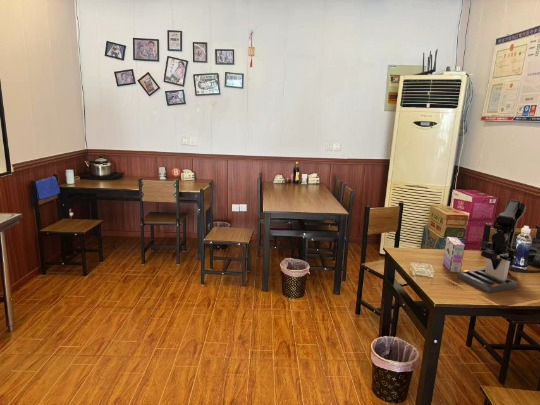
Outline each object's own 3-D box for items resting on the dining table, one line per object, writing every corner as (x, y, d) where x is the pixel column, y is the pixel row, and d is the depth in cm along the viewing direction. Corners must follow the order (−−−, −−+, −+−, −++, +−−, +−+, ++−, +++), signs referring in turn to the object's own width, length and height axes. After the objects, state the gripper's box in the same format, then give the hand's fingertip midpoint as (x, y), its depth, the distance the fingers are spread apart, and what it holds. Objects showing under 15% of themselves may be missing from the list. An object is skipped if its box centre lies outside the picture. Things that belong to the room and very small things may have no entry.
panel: (488, 272, 188) (491, 254, 186) (506, 280, 179) (509, 261, 177) (484, 273, 187) (487, 254, 185) (502, 281, 178) (506, 262, 176)
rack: (484, 275, 194) (485, 267, 193) (516, 289, 177) (518, 281, 176) (457, 279, 187) (458, 271, 186) (488, 295, 171) (489, 286, 170)
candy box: (460, 274, 194) (465, 245, 190) (449, 273, 195) (453, 244, 191) (453, 264, 207) (457, 237, 203) (442, 263, 208) (446, 236, 204)
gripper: (500, 233, 189) (495, 261, 193) (473, 236, 183) (469, 265, 186) (521, 240, 179) (515, 269, 183) (493, 243, 173) (488, 273, 176)
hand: (496, 269), depth 182 cm, fingers closed on panel, 2 cm apart
